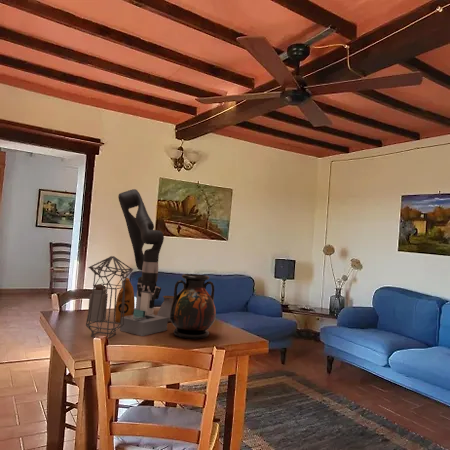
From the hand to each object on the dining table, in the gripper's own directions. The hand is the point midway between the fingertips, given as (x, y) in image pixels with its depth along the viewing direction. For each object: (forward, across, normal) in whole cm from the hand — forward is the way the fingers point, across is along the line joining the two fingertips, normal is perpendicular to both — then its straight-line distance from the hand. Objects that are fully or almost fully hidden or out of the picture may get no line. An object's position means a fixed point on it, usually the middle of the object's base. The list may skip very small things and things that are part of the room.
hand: (147, 306), depth 192 cm
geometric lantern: (+11, -4, -21) cm, 24 cm away
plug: (+3, 0, 0) cm, 3 cm away
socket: (+11, 0, -1) cm, 11 cm away
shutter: (+5, 0, -8) cm, 9 cm away
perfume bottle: (+11, -30, -4) cm, 32 cm away
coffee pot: (+11, -4, +28) cm, 30 cm away
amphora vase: (+11, +21, +8) cm, 25 cm away
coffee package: (+11, -20, +5) cm, 23 cm away
